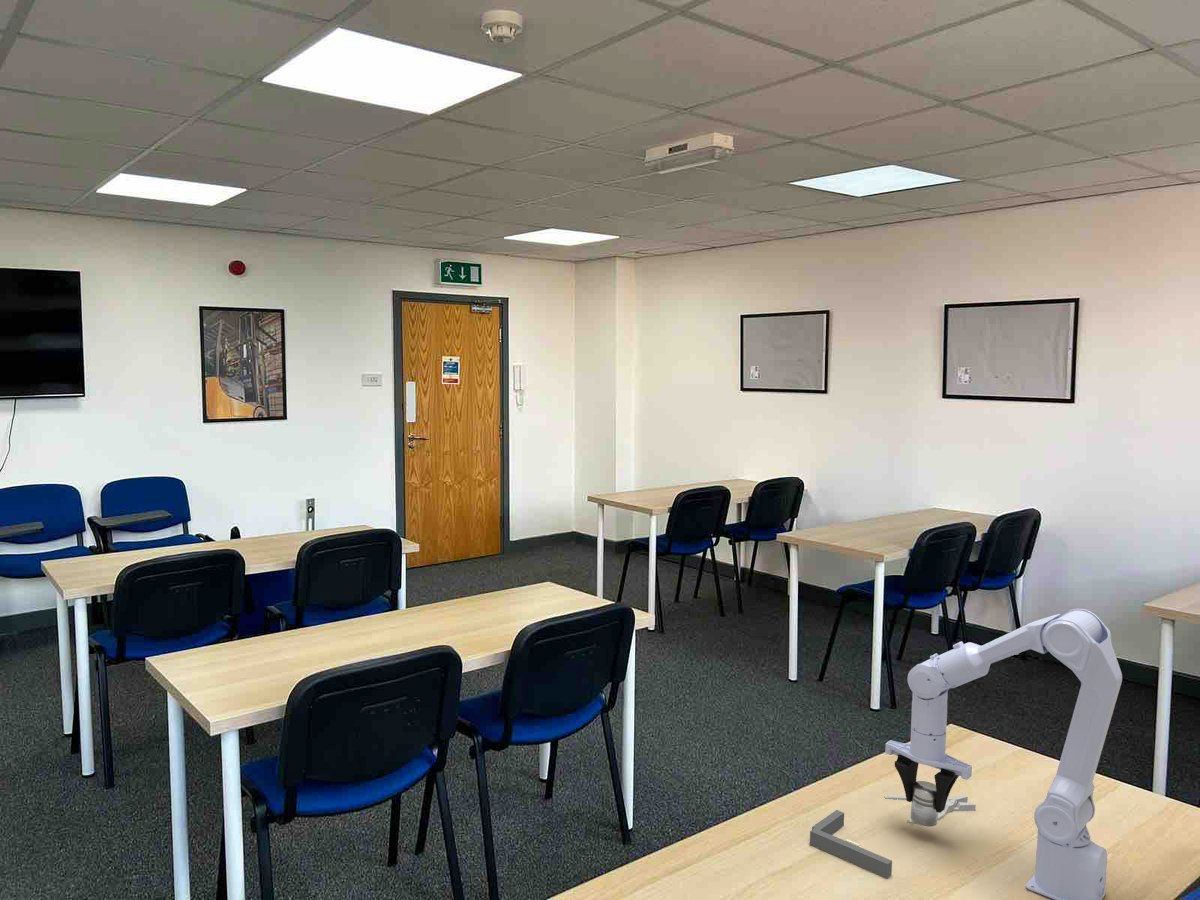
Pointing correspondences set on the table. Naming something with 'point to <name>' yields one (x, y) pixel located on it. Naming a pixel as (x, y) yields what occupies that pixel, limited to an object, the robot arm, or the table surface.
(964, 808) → the pliers
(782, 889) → the table surface
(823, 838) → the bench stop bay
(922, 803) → the piston
